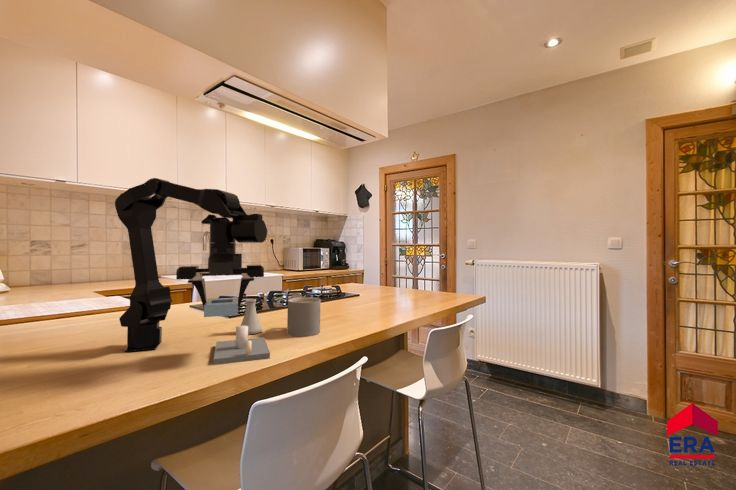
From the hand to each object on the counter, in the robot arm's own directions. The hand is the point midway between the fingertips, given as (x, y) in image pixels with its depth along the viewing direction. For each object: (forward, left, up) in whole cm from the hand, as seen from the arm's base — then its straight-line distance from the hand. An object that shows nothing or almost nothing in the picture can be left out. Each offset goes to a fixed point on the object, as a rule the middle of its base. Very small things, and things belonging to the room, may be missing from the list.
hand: (222, 307), depth 78 cm
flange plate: (0, 0, -1) cm, 1 cm away
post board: (+5, +1, -11) cm, 12 cm away
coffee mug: (+23, +16, -12) cm, 30 cm away
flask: (+8, +20, -12) cm, 24 cm away
